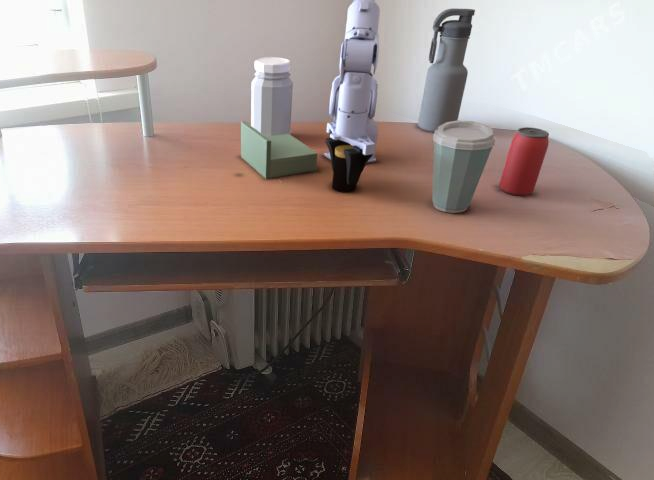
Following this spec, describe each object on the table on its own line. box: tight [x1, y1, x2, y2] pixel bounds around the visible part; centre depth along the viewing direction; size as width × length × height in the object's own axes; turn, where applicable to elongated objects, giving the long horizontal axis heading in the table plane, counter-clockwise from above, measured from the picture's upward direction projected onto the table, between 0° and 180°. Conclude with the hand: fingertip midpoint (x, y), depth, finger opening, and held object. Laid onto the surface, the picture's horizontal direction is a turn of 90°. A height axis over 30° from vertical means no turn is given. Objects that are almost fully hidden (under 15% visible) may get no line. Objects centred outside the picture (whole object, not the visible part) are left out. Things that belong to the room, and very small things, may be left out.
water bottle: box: [417, 8, 476, 133], centre depth 137 cm, size 10×10×28 cm
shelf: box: [240, 121, 319, 180], centre depth 119 cm, size 12×14×8 cm
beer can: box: [498, 127, 550, 197], centre depth 107 cm, size 7×7×12 cm
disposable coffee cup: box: [432, 119, 496, 214], centre depth 100 cm, size 11×11×15 cm
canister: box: [331, 145, 358, 194], centre depth 108 cm, size 5×5×8 cm
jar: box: [250, 56, 294, 137], centre depth 131 cm, size 10×10×18 cm
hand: (345, 178), depth 109 cm, fingers closed on canister, 5 cm apart
